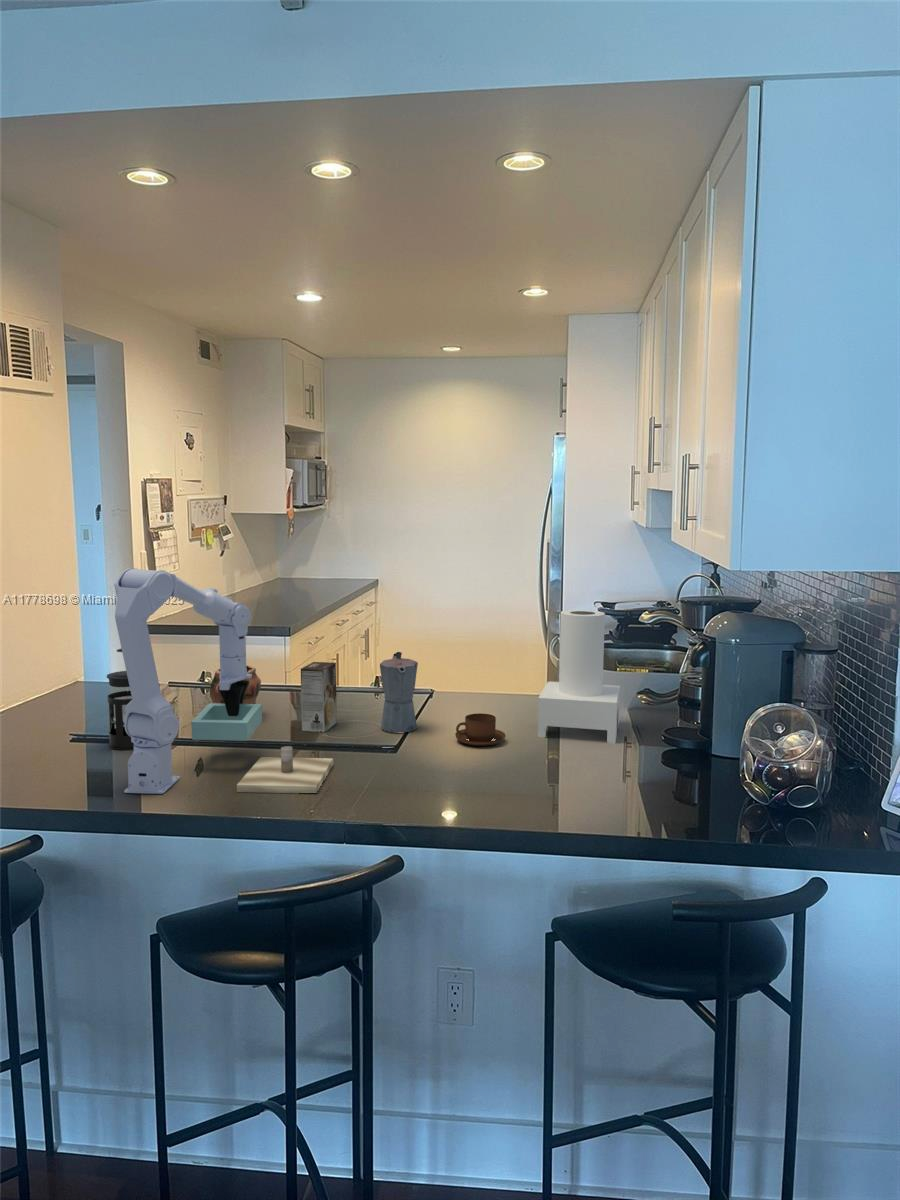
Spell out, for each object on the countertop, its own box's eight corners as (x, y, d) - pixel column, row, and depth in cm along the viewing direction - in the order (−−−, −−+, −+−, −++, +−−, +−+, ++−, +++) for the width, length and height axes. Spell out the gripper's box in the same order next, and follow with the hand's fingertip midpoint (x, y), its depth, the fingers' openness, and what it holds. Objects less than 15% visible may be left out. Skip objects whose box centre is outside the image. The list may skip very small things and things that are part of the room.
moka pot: (385, 738, 208) (384, 657, 206) (373, 721, 223) (373, 646, 221) (423, 735, 211) (423, 655, 208) (409, 719, 226) (409, 644, 223)
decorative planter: (244, 732, 213) (242, 677, 211) (197, 730, 214) (195, 676, 212) (270, 712, 232) (269, 661, 231) (226, 710, 234) (225, 660, 232)
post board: (316, 793, 170) (316, 762, 169) (236, 792, 171) (236, 760, 170) (333, 765, 188) (332, 736, 187) (261, 763, 189) (260, 734, 188)
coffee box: (314, 721, 223) (313, 661, 221) (337, 723, 222) (336, 662, 220) (301, 731, 214) (300, 668, 212) (325, 732, 213) (324, 669, 211)
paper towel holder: (537, 737, 210) (540, 616, 206) (547, 718, 228) (549, 606, 224) (615, 743, 206) (619, 619, 202) (618, 723, 224) (622, 609, 220)
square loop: (247, 740, 183) (246, 722, 182) (192, 739, 183) (191, 722, 183) (262, 720, 195) (261, 704, 194) (210, 720, 195) (209, 703, 194)
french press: (98, 749, 198) (93, 651, 195) (119, 737, 208) (115, 644, 205) (145, 751, 197) (141, 653, 194) (165, 740, 206) (161, 645, 203)
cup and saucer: (477, 752, 198) (478, 726, 197) (445, 741, 207) (445, 716, 206) (515, 743, 206) (515, 718, 205) (482, 732, 215) (482, 708, 214)
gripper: (241, 661, 185) (242, 723, 186) (259, 649, 199) (260, 706, 201) (209, 661, 185) (210, 722, 187) (229, 649, 199) (230, 706, 201)
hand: (234, 714), depth 194 cm, fingers closed on square loop, 2 cm apart
